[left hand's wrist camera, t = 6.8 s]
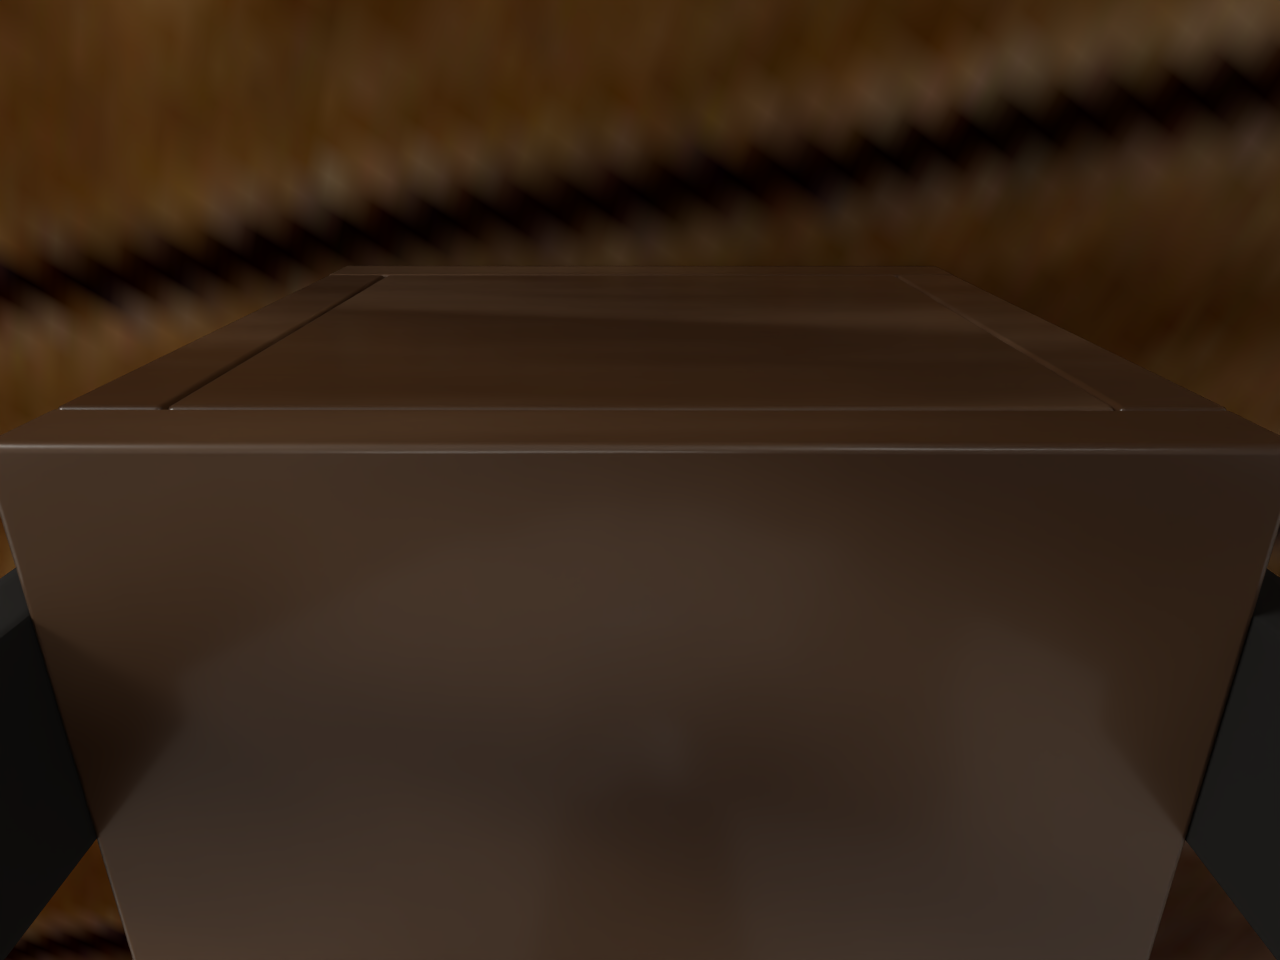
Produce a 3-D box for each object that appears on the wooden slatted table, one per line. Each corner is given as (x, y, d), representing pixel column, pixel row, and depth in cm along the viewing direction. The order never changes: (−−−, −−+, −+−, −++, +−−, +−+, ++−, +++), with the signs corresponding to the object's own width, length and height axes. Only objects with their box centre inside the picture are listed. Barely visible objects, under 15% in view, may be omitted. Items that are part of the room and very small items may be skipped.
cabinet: (843, 1012, 25) (969, 1565, 15) (437, 1011, 25) (310, 1563, 15) (936, 265, 17) (1308, 444, 8) (346, 265, 17) (-26, 443, 8)
